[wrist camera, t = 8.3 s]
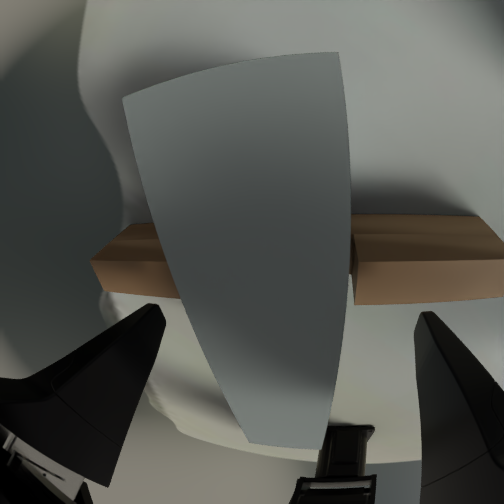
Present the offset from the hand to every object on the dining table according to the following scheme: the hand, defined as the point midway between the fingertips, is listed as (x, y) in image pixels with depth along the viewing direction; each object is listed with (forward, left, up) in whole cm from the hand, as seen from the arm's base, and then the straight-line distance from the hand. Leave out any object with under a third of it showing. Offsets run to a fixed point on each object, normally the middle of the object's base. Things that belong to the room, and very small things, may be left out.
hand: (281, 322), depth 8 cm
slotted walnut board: (0, 0, -6) cm, 6 cm away
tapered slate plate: (0, 0, -6) cm, 6 cm away
